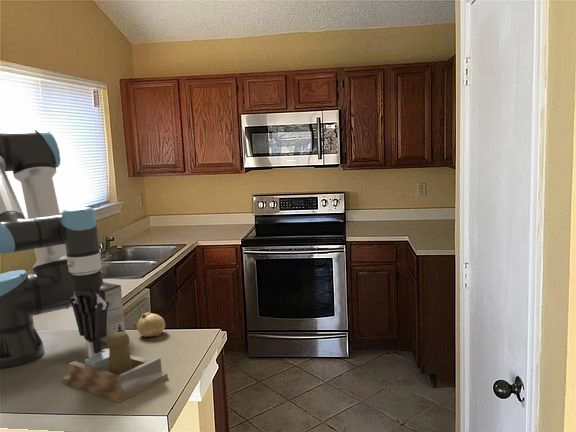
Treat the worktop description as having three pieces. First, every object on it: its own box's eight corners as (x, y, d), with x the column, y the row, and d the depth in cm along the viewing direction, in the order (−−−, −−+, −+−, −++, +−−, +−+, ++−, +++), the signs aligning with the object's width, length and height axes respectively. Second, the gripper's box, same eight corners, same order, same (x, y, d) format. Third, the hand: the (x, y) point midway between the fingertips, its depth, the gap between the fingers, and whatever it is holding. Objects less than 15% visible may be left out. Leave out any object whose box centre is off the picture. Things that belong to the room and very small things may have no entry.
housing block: (86, 375, 132) (84, 360, 131) (110, 365, 137) (109, 350, 137) (96, 379, 130) (94, 363, 129) (120, 368, 135) (119, 352, 135)
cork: (127, 383, 126) (122, 338, 125) (103, 383, 127) (98, 338, 126) (139, 372, 132) (134, 329, 130) (116, 372, 133) (111, 328, 132)
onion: (156, 328, 168) (154, 306, 167) (171, 333, 162) (169, 310, 161) (133, 336, 162) (130, 313, 161) (147, 342, 157) (145, 318, 156)
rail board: (62, 382, 132) (59, 360, 131) (110, 361, 143) (108, 341, 143) (119, 402, 119) (116, 378, 119) (167, 378, 131) (165, 355, 130)
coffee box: (89, 339, 162) (83, 286, 159) (107, 332, 167) (101, 281, 165) (109, 344, 156) (103, 289, 154) (127, 337, 162) (121, 284, 159)
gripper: (55, 272, 133) (67, 365, 136) (87, 277, 125) (99, 375, 128) (83, 265, 139) (93, 354, 142) (115, 270, 131) (125, 363, 134)
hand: (96, 364), depth 135 cm, fingers closed
